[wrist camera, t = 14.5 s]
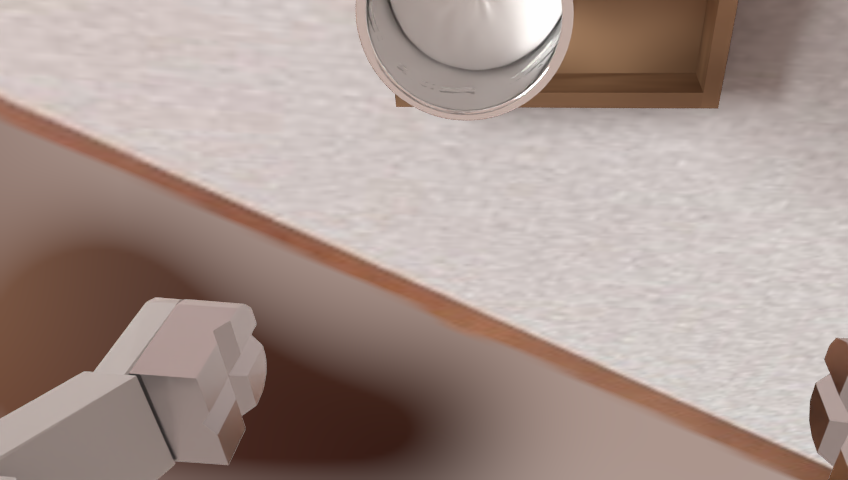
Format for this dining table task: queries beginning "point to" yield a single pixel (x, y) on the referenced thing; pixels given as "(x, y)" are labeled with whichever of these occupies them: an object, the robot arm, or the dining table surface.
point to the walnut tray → (642, 55)
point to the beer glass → (465, 51)
